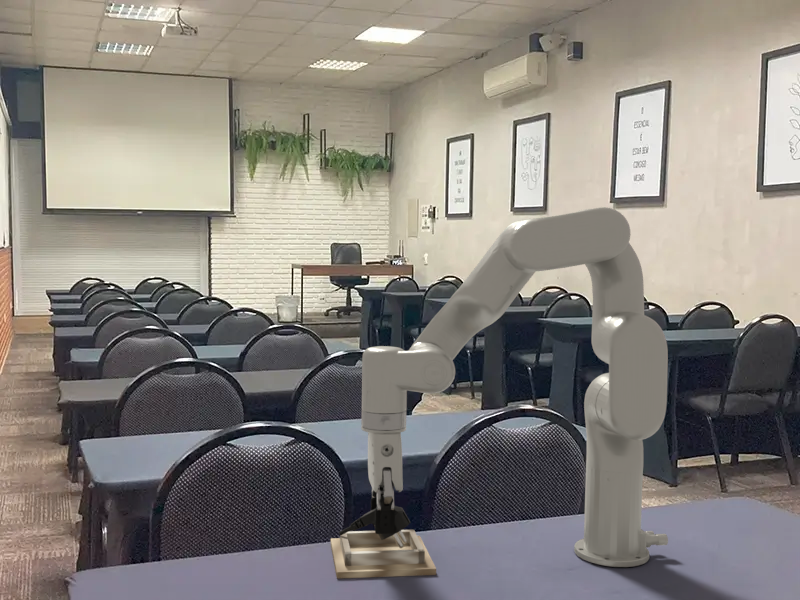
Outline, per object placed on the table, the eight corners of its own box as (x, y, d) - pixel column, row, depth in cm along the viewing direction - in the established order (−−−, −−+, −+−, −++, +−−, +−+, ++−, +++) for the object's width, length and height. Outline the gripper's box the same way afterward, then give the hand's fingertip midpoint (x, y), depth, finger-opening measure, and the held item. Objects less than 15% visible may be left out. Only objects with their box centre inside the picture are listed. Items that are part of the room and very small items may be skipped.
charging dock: (419, 541, 152) (420, 524, 152) (436, 574, 136) (436, 556, 136) (330, 544, 150) (330, 527, 150) (336, 578, 134) (337, 559, 134)
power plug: (343, 524, 148) (400, 493, 145) (364, 563, 147) (421, 533, 144) (332, 534, 143) (391, 502, 140) (354, 574, 142) (413, 543, 139)
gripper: (414, 431, 134) (412, 543, 135) (398, 410, 151) (397, 510, 152) (366, 431, 133) (365, 545, 134) (356, 411, 150) (355, 512, 151)
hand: (382, 525), depth 143 cm, fingers closed on power plug, 5 cm apart
